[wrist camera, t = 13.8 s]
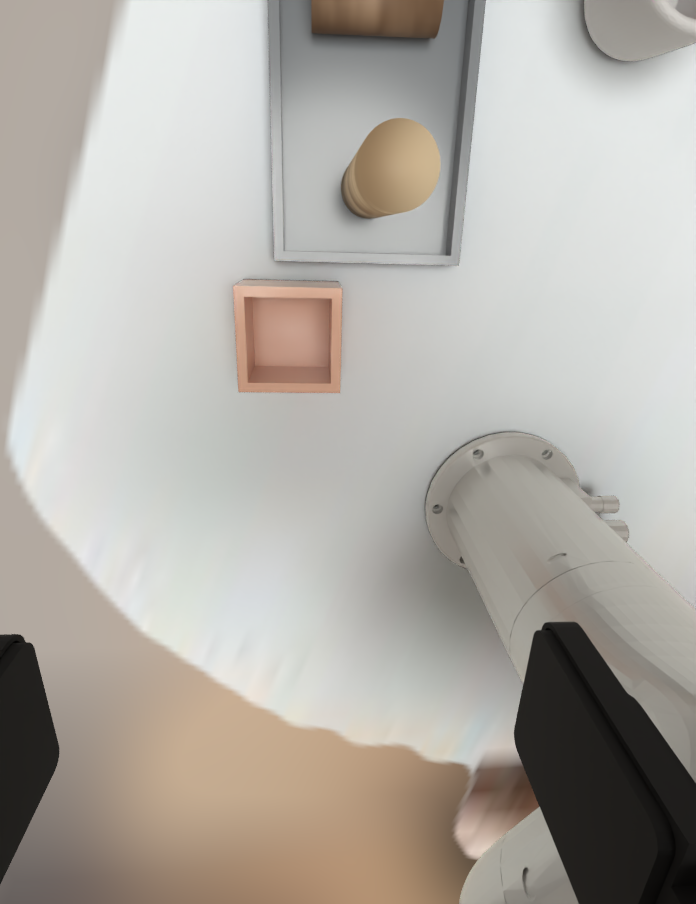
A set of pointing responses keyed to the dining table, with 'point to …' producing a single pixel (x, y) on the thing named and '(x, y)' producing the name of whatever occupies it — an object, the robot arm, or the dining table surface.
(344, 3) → the walnut dowel
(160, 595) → the dining table surface
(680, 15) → the cup
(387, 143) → the oak dowel
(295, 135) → the tray
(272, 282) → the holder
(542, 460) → the robot arm
